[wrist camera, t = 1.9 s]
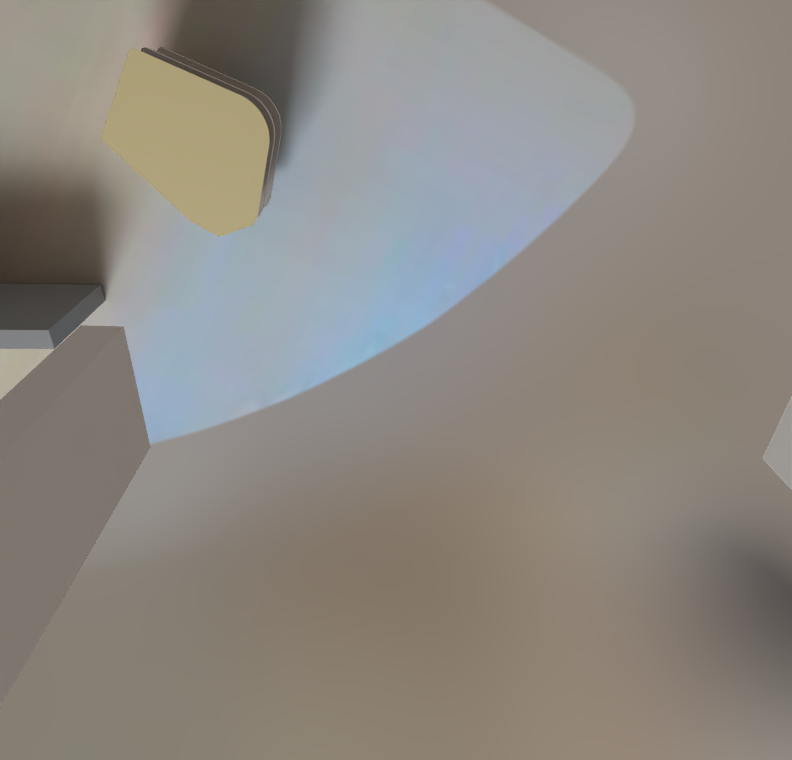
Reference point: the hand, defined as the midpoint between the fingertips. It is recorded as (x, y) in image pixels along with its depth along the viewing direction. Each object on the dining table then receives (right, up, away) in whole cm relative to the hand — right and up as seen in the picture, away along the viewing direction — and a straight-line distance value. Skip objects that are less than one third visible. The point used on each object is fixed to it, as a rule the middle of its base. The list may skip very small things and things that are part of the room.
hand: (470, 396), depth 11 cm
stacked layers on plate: (-10, +13, +18) cm, 24 cm away
